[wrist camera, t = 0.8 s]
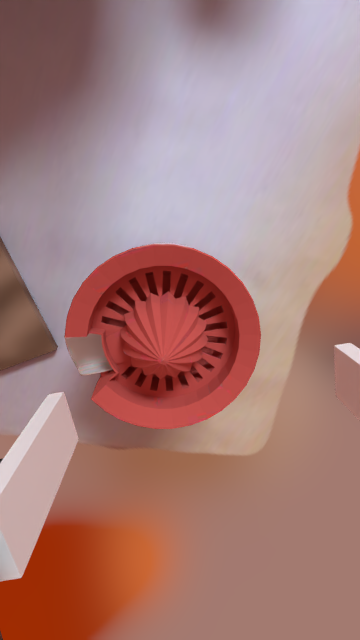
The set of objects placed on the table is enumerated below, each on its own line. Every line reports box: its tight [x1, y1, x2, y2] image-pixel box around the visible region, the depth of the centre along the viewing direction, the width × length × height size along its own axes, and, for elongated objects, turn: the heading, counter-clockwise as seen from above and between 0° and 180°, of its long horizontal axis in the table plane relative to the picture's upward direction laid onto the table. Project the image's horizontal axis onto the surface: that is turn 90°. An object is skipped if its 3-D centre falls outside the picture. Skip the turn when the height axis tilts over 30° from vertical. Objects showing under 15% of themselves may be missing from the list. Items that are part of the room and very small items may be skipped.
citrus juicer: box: [64, 243, 261, 429], centre depth 32 cm, size 16×17×20 cm
